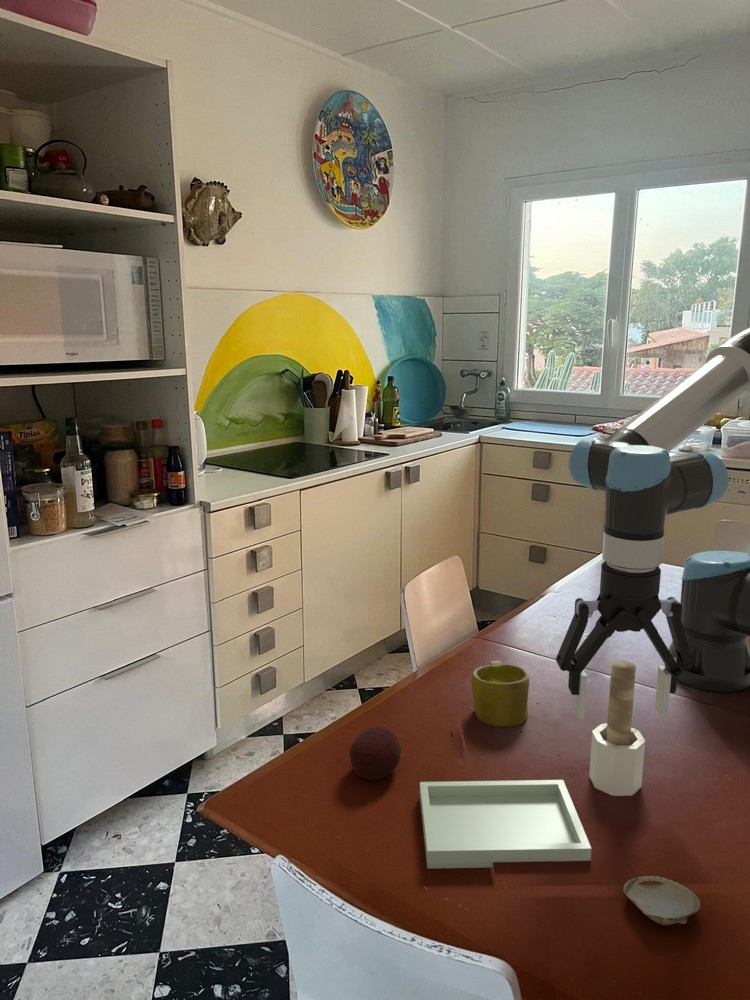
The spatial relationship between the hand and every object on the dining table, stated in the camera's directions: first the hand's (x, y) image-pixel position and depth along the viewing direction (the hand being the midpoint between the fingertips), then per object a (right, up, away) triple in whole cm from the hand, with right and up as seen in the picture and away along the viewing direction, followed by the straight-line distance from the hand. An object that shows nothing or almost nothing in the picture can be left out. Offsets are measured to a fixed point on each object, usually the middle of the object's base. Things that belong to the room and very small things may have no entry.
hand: (620, 713), depth 107 cm
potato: (-34, -11, +8) cm, 36 cm away
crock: (0, -11, +3) cm, 11 cm away
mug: (-13, -6, +23) cm, 27 cm away
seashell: (-2, -17, -19) cm, 26 cm away
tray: (-18, -14, -6) cm, 23 cm away
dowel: (0, -10, +3) cm, 11 cm away
